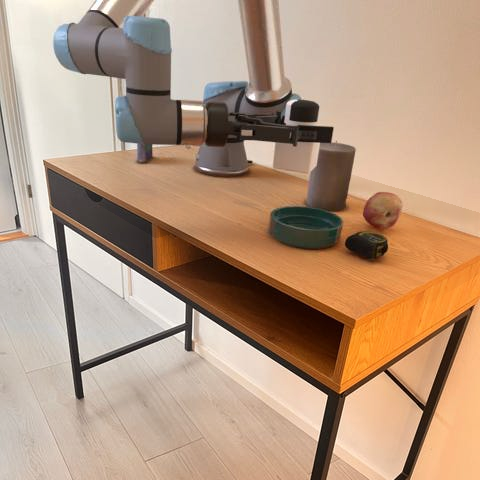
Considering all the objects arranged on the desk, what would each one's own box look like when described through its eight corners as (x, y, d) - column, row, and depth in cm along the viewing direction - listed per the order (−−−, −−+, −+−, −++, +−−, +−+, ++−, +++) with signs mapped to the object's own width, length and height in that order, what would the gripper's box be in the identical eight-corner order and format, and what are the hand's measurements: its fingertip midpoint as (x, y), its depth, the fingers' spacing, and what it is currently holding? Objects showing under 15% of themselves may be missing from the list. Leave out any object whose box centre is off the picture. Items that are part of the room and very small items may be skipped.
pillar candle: (353, 208, 118) (366, 144, 110) (322, 213, 113) (333, 145, 106) (327, 197, 125) (338, 135, 117) (297, 200, 120) (305, 136, 113)
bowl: (289, 219, 108) (292, 201, 106) (350, 236, 102) (354, 217, 100) (255, 236, 97) (257, 217, 95) (320, 256, 91) (324, 236, 89)
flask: (144, 164, 140) (143, 124, 135) (134, 162, 140) (133, 123, 135) (154, 157, 148) (153, 119, 143) (144, 156, 148) (143, 118, 143)
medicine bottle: (316, 166, 97) (326, 101, 91) (308, 174, 91) (318, 104, 85) (282, 161, 99) (289, 96, 93) (272, 168, 93) (279, 100, 87)
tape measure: (341, 251, 94) (344, 233, 92) (365, 245, 98) (369, 227, 96) (367, 265, 89) (371, 246, 87) (392, 258, 93) (397, 239, 91)
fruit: (359, 231, 104) (366, 194, 100) (361, 220, 111) (368, 185, 107) (396, 237, 103) (405, 200, 99) (396, 226, 109) (405, 190, 105)
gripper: (196, 134, 99) (302, 138, 104) (212, 160, 80) (340, 164, 85) (197, 93, 95) (307, 99, 100) (214, 111, 77) (348, 118, 81)
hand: (322, 129), depth 92 cm, fingers closed on medicine bottle, 9 cm apart
